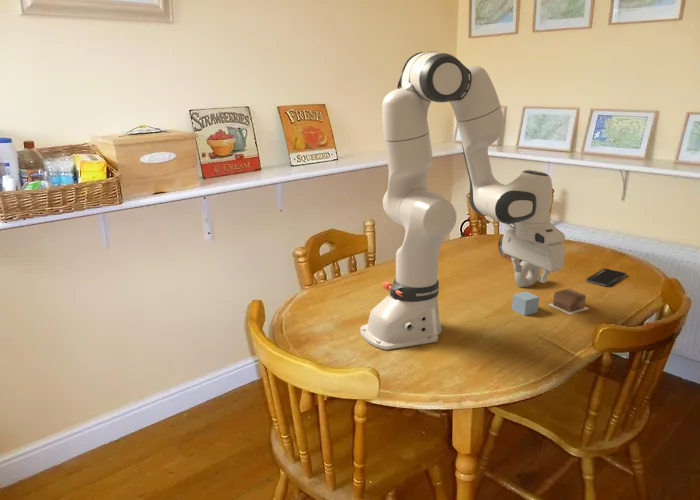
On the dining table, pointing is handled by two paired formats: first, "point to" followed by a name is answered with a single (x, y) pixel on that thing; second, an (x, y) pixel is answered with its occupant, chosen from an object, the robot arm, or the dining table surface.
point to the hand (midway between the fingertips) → (529, 276)
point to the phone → (606, 277)
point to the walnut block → (569, 300)
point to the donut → (530, 278)
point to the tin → (502, 250)
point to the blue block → (525, 303)
